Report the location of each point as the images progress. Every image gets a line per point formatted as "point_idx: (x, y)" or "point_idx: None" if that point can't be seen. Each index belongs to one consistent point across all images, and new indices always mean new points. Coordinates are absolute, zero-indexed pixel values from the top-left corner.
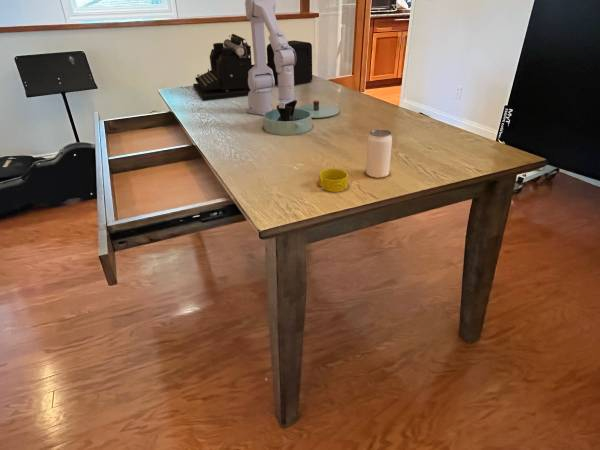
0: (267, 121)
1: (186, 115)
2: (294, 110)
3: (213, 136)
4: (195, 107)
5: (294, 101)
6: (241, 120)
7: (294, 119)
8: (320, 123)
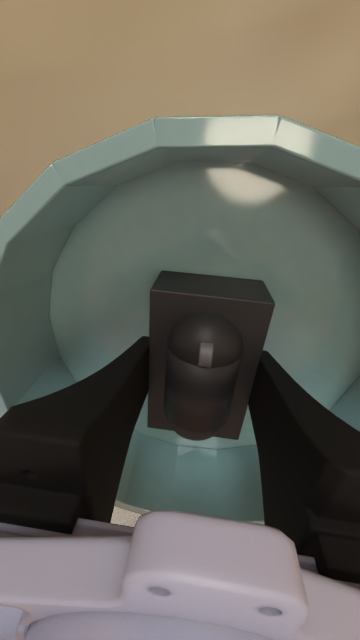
0: None
1: None
2: (2, 357)
3: None
4: None
5: (54, 462)
6: (115, 518)
7: (230, 326)
8: (55, 58)
